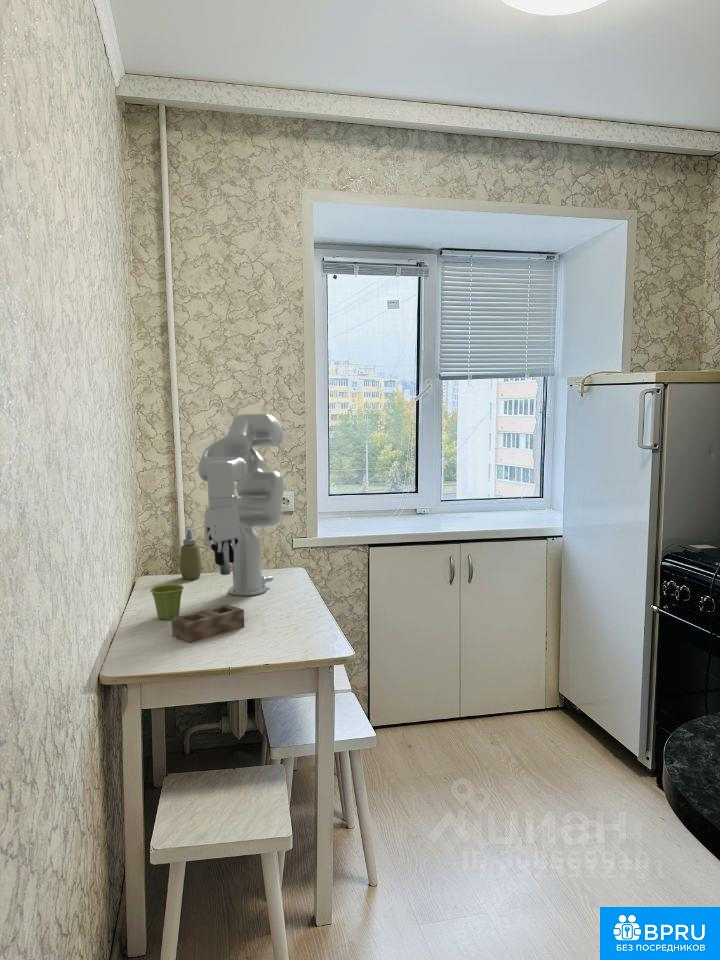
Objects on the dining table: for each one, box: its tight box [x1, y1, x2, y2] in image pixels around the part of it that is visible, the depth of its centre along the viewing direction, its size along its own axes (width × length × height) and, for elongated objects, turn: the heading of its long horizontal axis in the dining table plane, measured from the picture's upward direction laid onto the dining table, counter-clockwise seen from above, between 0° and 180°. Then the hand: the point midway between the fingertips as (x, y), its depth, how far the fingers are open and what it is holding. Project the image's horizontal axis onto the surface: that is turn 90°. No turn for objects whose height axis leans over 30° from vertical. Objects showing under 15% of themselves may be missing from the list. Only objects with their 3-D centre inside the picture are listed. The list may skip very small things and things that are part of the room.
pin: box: [219, 540, 231, 576], centre depth 203 cm, size 3×3×10 cm
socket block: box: [171, 604, 245, 644], centre depth 189 cm, size 18×8×5 cm, turn 137°
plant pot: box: [150, 584, 184, 621], centre depth 203 cm, size 9×9×9 cm
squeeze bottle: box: [179, 529, 203, 581], centre depth 250 cm, size 8×8×18 cm
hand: (224, 562), depth 204 cm, fingers closed on pin, 3 cm apart
